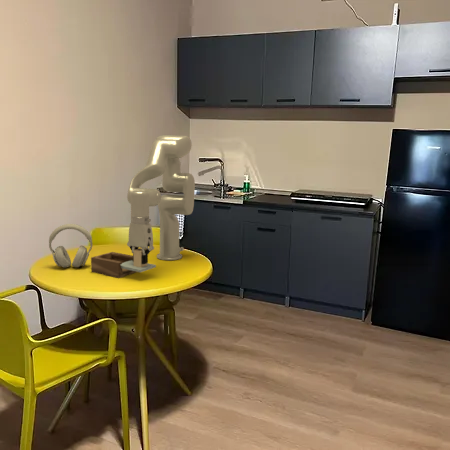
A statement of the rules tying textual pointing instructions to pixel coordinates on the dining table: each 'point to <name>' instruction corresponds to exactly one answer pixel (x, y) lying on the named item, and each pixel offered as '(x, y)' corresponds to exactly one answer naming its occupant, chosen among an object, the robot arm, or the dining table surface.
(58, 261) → the headphones
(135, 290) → the dining table surface
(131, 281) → the dining table surface
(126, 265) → the cover plate
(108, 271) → the walnut box
